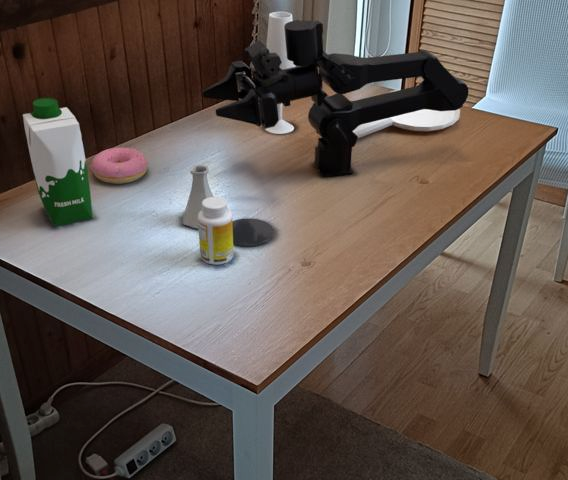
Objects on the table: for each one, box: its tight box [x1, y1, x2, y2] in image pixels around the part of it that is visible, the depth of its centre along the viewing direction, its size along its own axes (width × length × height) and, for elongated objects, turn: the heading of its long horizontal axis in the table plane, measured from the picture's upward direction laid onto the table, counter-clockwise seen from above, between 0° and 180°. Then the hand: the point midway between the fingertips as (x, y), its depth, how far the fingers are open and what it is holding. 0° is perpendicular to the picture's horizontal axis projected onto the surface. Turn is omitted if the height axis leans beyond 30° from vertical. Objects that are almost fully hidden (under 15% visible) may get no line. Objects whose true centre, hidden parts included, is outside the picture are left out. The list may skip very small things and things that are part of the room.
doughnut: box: [90, 146, 149, 185], centre depth 146 cm, size 11×11×4 cm
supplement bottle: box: [198, 196, 234, 266], centre depth 121 cm, size 6×6×10 cm
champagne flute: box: [264, 11, 296, 135], centre depth 160 cm, size 7×7×24 cm
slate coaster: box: [232, 218, 275, 248], centre depth 131 cm, size 9×9×1 cm
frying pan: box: [353, 89, 461, 139], centre depth 167 cm, size 35×19×5 cm, turn 128°
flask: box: [182, 164, 214, 230], centre depth 131 cm, size 7×7×10 cm
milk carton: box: [22, 97, 94, 228], centre depth 129 cm, size 9×9×20 cm
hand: (209, 103), depth 134 cm, fingers open, 9 cm apart
